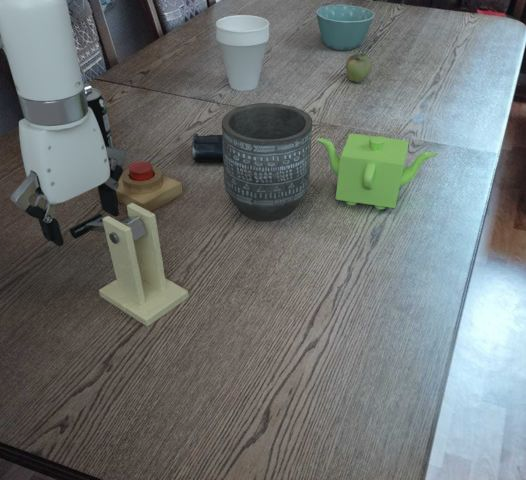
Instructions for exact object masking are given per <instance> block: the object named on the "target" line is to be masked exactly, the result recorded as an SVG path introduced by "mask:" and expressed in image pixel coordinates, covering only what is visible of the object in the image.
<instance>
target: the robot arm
mask: <svg viewBox="0 0 526 480" xmlns="http://www.w3.org/2000/svg"><path fill="white" fill-rule="evenodd" d="M69 11H70V10H69V6H68V1H67V0H0V49H3V48H4V52H5V55H6V59H7V63H8V65H9V69H10V73H11V76H12V79H13V84H14V86H15V90H16V94H17V97H18V100H19V105H20V108H21V111H22V115H23V117H24V118H21V119H20V120H19V121H18V137H19V145H20V153H21V159H22V162H23V167H24V172H25V175H26V176H25V177H26V178H25V179H24V180H23V181H22V182H21V184H20V185H19V186H18V187H17V188H16V189H15V190H14V192H13V193H12V194H11V195H10V201H11V202H12V203H13V204H15V205H16V206H17V207H18V208H19V209H20V210H21V211H22V212H24V213H25V214H27V215H28V216H30V217H32V218H35V219H38V222H39V227H40V229H41V232H42V235H43V238H44V239H45V240H47V241H48V242H51V243H53V244H55V245H56V246H58V247H59V248H60V247H62V246H64V244H65V241H64V238H63V234H62V230H61V226H60V224H59V221H58V220H57V218H55V217H54V216H55V214H56V211H57V209H58V206H59V204H63V203H65V202H67V201H69V200H72V199H74V198H76V197H78V196H80V195H82V194H85V193H87V192H89V191H91V190H93V189H95V188H97V192H98V197H99V201H100V205H101V206H100V207H101V210H102V211H103V212H105V213H107V214H108V215H110V216H111V217H113V218H114V217H115V218H118V217H119V216H120V210H119V201H118V199H117V193H116V190H117V189H118V188H119V183H118V181H119V179H120V177H121V175H122V173H123V172H124V168H123V166H124V164H125V158H126V152H125V151H124V150H122V149H120V148H116V147H114V148H112V147H106V146H105V143H104V140H103V137H102V134H101V131H100V128H99V125H98V123H97V120H96V118H95V115H94V113H93V111H92V109H91V108H90V107H88V106H87V105H88V102H87V96H88V95H90V94H92V88H93V87H92V86H91V83H89V82H83V77H82V72H81V66H80V61H79V55H78V51H77V47H76V41H75V36H74V31H73V26H72V21H71V16H70V12H69ZM108 158H111V159H109V160H111V161H109V160H108ZM110 162H111V163H110ZM33 194H34V195H35V196H36V195H37V196H36V198H35V201H34V205H33V204H32V203H31V202H30V198H31V196H32V195H33Z"/></svg>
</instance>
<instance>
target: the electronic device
mask: <svg viewBox="0 0 526 480" xmlns="http://www.w3.org/2000/svg"><path fill="white" fill-rule="evenodd" d="M192 137H193V138H192V143H191V151H192V153H191V154H192V160H193V161H194V162H195V163H200V162H205V163H218V162H220V163H224V161H223V141H222V134H208V135H199V134H198V133H197V132H193V136H192Z"/></svg>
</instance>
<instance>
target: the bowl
mask: <svg viewBox="0 0 526 480" xmlns="http://www.w3.org/2000/svg"><path fill="white" fill-rule="evenodd" d="M315 14H316V19H317V24H318V29H319V33H320V37H321V41H322V42H323V44H325V46H326V47H327V48H329V49H331V50H335V51H352V50H355V49H357V48H358V47H360V46H361V45H362V44H363V42H364V40H365V38H366V36H367V34H368V32H369V30H370V27H371V25H372V22H373V21H374V18H375V13H374V11H372V10H370V9H368V8H366V7H362V6H357V5H351V4H330V5H324V6H321V7H319V8H318V9H316V12H315Z"/></svg>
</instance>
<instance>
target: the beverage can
mask: <svg viewBox="0 0 526 480" xmlns="http://www.w3.org/2000/svg"><path fill="white" fill-rule="evenodd" d="M91 88H92V94H90V95H88V96H87V102H88V105H87V106H88V107H90V108H91V109H92V111H93V113H94V115H95V118H96V120H97V123H98V125H99V128H100V131H101V134H102V137H103V140H104V143H105V146H106V147H112V148H115V143H114V139H113V134H112V130H111V124H110V120H109V114H108V109H107V104H106V100H105V98H104V97H103V95H102V92H101V90H100V89H98V88H94V87H91ZM108 160H111V158H108Z"/></svg>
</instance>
